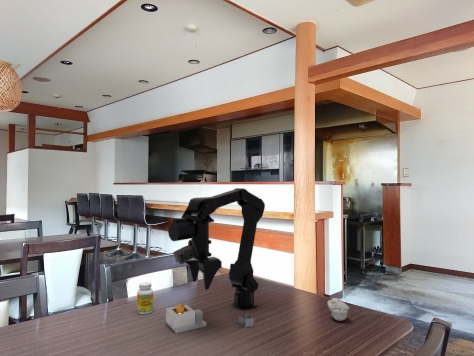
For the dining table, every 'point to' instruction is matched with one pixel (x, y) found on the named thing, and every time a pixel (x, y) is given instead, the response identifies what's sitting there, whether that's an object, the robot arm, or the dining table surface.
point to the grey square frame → (180, 317)
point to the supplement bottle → (145, 298)
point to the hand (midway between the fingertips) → (200, 285)
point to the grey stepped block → (245, 321)
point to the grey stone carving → (338, 309)
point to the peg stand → (198, 320)
